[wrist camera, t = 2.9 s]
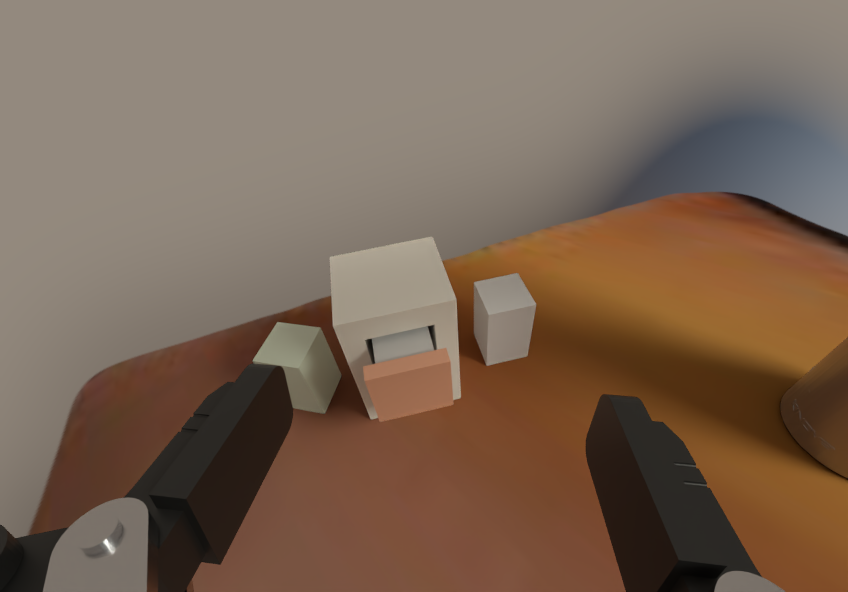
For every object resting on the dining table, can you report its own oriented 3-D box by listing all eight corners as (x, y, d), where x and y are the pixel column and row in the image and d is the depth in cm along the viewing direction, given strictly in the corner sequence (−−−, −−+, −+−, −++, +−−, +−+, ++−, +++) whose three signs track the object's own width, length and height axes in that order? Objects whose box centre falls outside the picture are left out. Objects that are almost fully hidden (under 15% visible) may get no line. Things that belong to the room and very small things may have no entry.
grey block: (511, 325, 43) (517, 272, 38) (527, 356, 40) (536, 304, 34) (473, 333, 43) (473, 282, 37) (486, 365, 40) (488, 315, 34)
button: (368, 334, 36) (354, 289, 32) (429, 320, 37) (423, 275, 32) (379, 422, 30) (364, 380, 26) (453, 404, 30) (450, 361, 26)
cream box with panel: (363, 354, 42) (329, 256, 32) (441, 336, 43) (432, 236, 33) (370, 419, 37) (332, 326, 27) (460, 398, 37) (456, 299, 27)
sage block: (341, 375, 40) (320, 327, 35) (324, 414, 37) (298, 368, 32) (304, 369, 41) (277, 321, 36) (284, 406, 38) (252, 360, 33)
